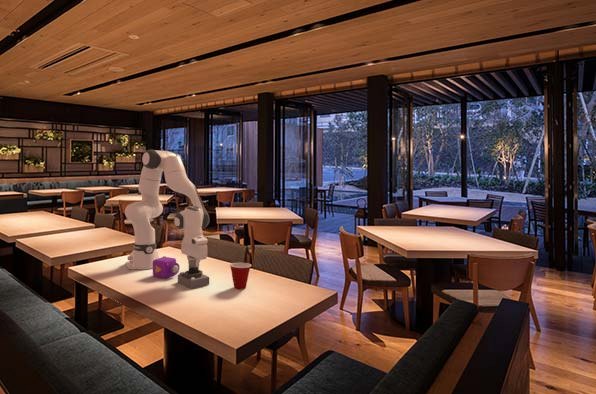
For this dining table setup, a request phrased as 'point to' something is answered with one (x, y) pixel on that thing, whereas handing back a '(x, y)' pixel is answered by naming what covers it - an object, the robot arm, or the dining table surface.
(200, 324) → the dining table surface
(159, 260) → the purple box with triangle
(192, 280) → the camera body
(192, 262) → the lens
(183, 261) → the dining table surface
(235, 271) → the plastic cup
